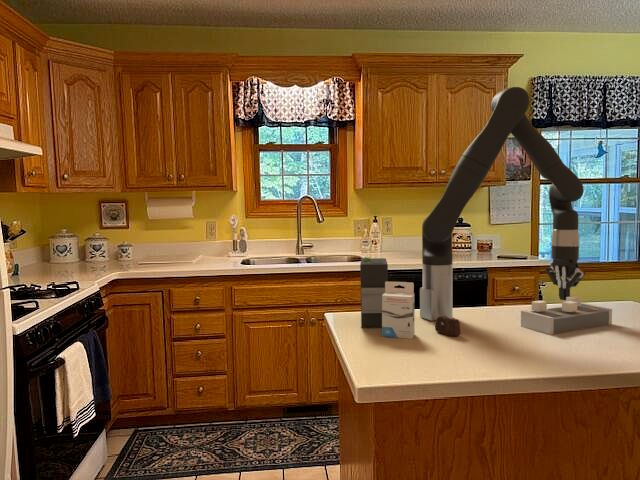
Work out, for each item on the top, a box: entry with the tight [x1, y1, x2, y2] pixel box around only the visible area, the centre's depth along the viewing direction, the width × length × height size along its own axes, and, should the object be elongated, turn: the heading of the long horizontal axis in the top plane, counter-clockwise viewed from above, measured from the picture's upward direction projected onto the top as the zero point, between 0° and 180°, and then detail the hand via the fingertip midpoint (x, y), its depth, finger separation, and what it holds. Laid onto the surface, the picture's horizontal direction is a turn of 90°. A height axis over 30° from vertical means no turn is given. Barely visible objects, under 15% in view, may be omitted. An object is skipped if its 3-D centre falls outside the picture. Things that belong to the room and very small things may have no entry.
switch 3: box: [561, 300, 577, 312], centre depth 142 cm, size 3×2×2 cm
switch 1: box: [531, 300, 548, 312], centre depth 143 cm, size 3×2×2 cm
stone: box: [434, 316, 461, 337], centre depth 136 cm, size 8×3×5 cm, turn 33°
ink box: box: [381, 281, 415, 340], centre depth 136 cm, size 8×5×15 cm, turn 72°
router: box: [359, 256, 389, 329], centre depth 152 cm, size 8×18×20 cm, turn 174°
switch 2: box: [565, 295, 582, 306], centre depth 149 cm, size 3×2×2 cm
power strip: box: [520, 302, 613, 335], centre depth 143 cm, size 24×10×5 cm, turn 113°
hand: (564, 299), depth 152 cm, fingers closed
